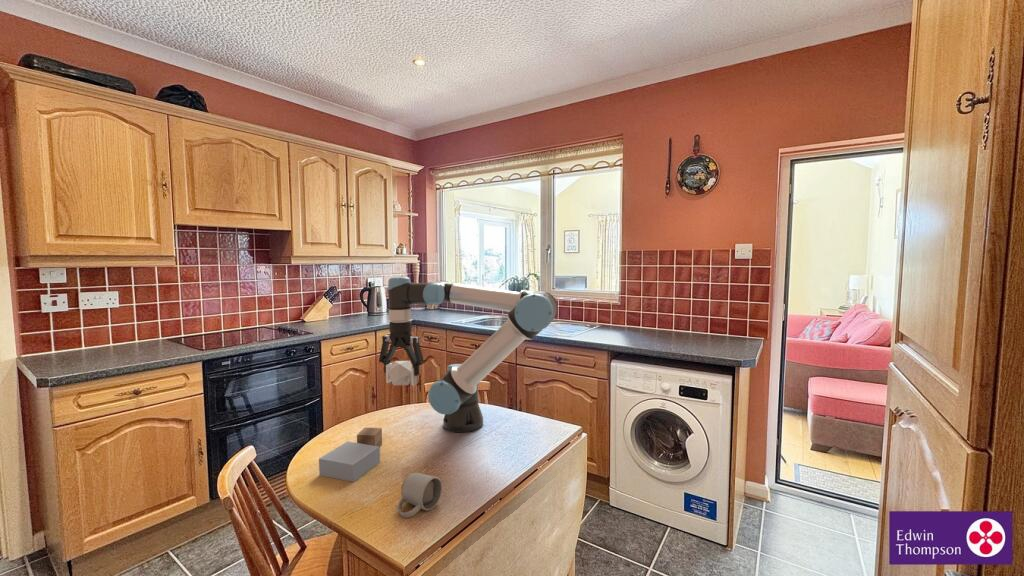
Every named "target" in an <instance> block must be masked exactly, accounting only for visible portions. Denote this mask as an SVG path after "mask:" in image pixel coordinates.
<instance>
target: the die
mask: <svg viewBox="0 0 1024 576" xmlns="http://www.w3.org/2000/svg"><path fill="white" fill-rule="evenodd" d="M412 366H413V365H412V363H411V360H395V361H394V362H393V363H392V366H391V368H390V369H389V371H388V375H389V377H390V379H391V381H392V382H391V383H392V385H393V386H409V385H410V383H411V367H412Z"/></svg>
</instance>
